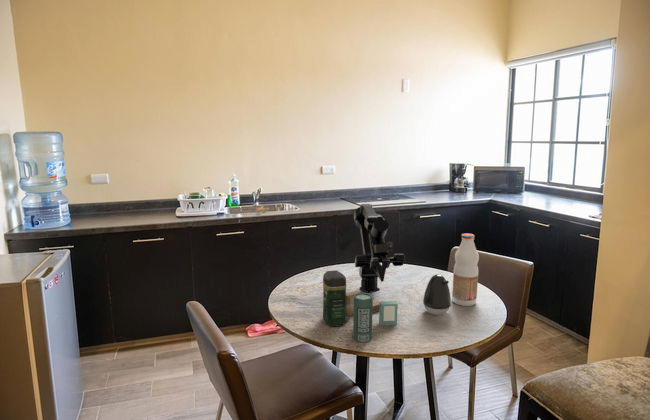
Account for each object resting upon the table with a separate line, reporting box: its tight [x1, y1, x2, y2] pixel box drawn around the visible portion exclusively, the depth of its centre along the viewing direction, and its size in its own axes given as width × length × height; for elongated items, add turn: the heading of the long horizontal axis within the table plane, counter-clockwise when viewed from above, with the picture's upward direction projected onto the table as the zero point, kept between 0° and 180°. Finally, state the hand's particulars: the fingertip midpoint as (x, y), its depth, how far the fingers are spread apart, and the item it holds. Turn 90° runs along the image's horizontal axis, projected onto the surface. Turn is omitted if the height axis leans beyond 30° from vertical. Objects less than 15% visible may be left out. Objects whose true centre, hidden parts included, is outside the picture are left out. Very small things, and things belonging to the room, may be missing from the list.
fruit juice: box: [451, 232, 480, 307], centre depth 177 cm, size 9×9×28 cm
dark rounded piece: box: [422, 274, 452, 316], centre depth 169 cm, size 10×10×15 cm
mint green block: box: [378, 300, 399, 326], centre depth 160 cm, size 3×6×8 cm, turn 95°
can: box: [352, 292, 374, 343], centre depth 149 cm, size 6×6×15 cm
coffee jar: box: [322, 270, 347, 327], centre depth 161 cm, size 10×8×19 cm
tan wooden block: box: [346, 290, 361, 317], centre depth 169 cm, size 3×6×8 cm, turn 124°
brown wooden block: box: [372, 298, 381, 314], centre depth 175 cm, size 3×6×8 cm
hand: (382, 281), depth 167 cm, fingers closed
